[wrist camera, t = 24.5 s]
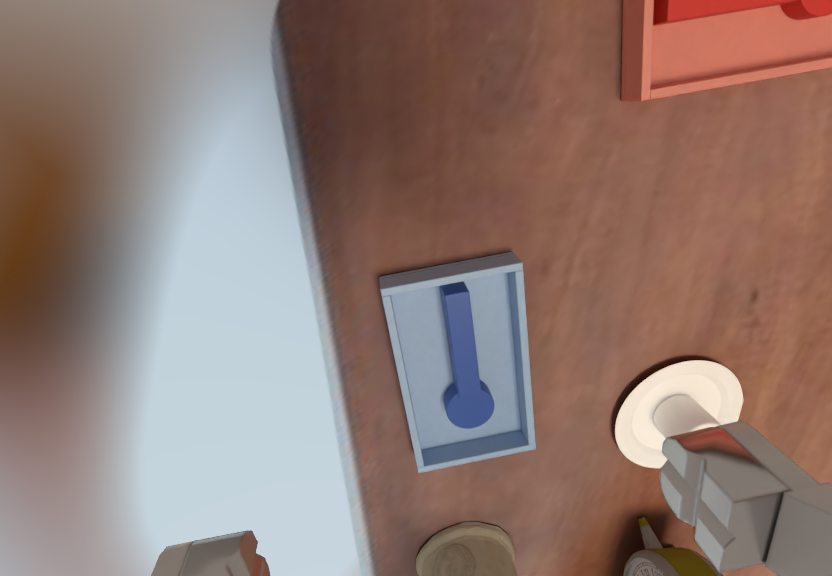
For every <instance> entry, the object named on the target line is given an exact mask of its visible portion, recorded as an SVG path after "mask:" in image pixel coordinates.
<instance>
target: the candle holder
mask: <svg viewBox="0 0 832 576" xmlns="http://www.w3.org/2000/svg"><path fill="white" fill-rule="evenodd" d="M742 404H743V394H742V389H741V386H740V383H739V381H738V379H737V378H736V376H735V375H734V374H733V373H732V372H731V371H730V370H729V369H727V368H726V367H724V366H722V365H720V364H718V363H715V362H711V361H704V360H692V361H684V362H680V363H676V364H673V365H670V366H667V367H665V368H663V369H661V370H659V371H657V372H655V373H653V374H652V375H650V376H649V377H647V378H646V379H645V380H643V381H642V382H641V383H640V384H639V385H638V386H637V387H636V388H635V389H634V390H633V391H632V392H631V393H630V394H629V396H628V397H627V398H626V400H625V401H624V403H623V405H622V406H621V408H620V410H619V413H618V416H617V419H616V424H615V438H616V442H617V445H618V447H619V449H620V450H621V452H622V453H623V454H624V455H625V456H626V457H627V458H628V459H629V460H631V461H632V462H634V463H636V464H638V465H641V466H644V467H649V468H661V467H662V466H663V465H664V464H665V462H666V461H667V460H668V459H667V458H666V457H665V456H664V454H663V453H662V446H663V442H664V440H665V439H666V438H667V437H670V436H675V435H679V434H683V433H687V432H692V431H696V430H700V429H704V428H709V427H716V426H719V425H724V424H728V423H733V422H737V421H738V419H739V415H740V411H741V408H742Z"/></svg>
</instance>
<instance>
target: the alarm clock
mask: <svg viewBox="0 0 832 576" xmlns="http://www.w3.org/2000/svg"><path fill="white" fill-rule="evenodd" d="M638 520H639V525H640V529H641V533H642V538H643V542H644V546H645V549H643V550H640V551H637V552H635V553H634V554H633V555H632V556H631V557H630V558H629V560H628V561H627V563H626V565H625V568H624V573H623V576H723V575H722V574H721V573H719V572H718V571H717V569H716V568H715V567H714V565H713V564H712V563H711V562H709V561H708V560H707V559H706V558H705V557H703V556H702V555H700V554H698V553H697V552H695V551H692V550H690V549H685V548H675V547H673V546H671V547H670V548H663V547H662V545H661V544H660V542H659V540H658V539H657V537H656V535H655V534H654V532H653V530H652V529H651V527H650V525H649V523H648V522H647V520H646V519H645V518H639V519H638Z"/></svg>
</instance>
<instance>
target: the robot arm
mask: <svg viewBox="0 0 832 576" xmlns="http://www.w3.org/2000/svg"><path fill="white" fill-rule="evenodd" d="M662 453H663V454H664V456H665V457H666V458H667V459H668V460H667V461H666V462H665V464H664V465H663V466H662V467H661V469H660V485H661V489H662V492H663V496H664V498H665V499H666V501H667V503H668V505H669V507H670V508H671V510H672V511H673V512H674V514H675V515H676V517H677V518H678V519H680V520H681V521H683V522H685V523H687V524H689V525H691V526H692V527H694V541H695V542H696V543H697V544H698V546H699V547H700V548H701V550H702V551H703V552H704V554H705V555H706V556H707V558H708V559H709V560H710V562H711V563H712V564H713V565H714V567H715V568H716V569H717V571H718V572H719V573H722V572H727V571H731V570H736V569H741V568H746V567H751V566H756V565H761V564H765V563H766V564H765V567H767V568H768V569H770V570H771V571H773V572H774V573H776V574H777V575H779V576H832V484H830V483H823V484H819V483H818V482H817V481H816V480H815V479H813V478H812V477H811V476H810V475H809V474H808V473H806V472H805V471H804V470H803V469H802V468H800V467H799V466H798V465H797V464H796V463H795V462H793V461H792V460H791V459H790V458H789V457H787V456H786V455H785V454H784V453H783V452H782V451H780V450H779V449H778V448H777V447H776V446H774V445H773V444H772V443H771V442H770V441H769V440H767V439H766V438H765V437H764V436H763V435H761V434H760V433H759V432H758V431H757V430H756V429H754V428H753V427H752V426H751V425H749V424H748V423H745V422H743V421H737V422H733V423H728V424H724V425H719V426H716V427H709V428H704V429H700V430H696V431H692V432H687V433H683V434H679V435H675V436H670V437H667V438H666V439H665V440H664V442H663V446H662ZM257 543H258V542H257V540H256V538H255V536H254V534H253V532H252V531H243V532H238V533H233V534H227V535H222V536H217V537H212V538H207V539H202V540H196V541H192V542H188V543H183V544H178V545H173V546H168V547H166V549H165V550H164V551H163V552H162V553H161V554H160V556H159V558H158V560H157V563H156V565H155V568H154V570H153V573H152V575H151V576H270V572H269V567H268V564H267V562H266V560H265V558H264V557H262V556H260V555H258V554H256V548H257Z"/></svg>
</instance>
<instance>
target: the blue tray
mask: <svg viewBox="0 0 832 576" xmlns="http://www.w3.org/2000/svg"><path fill="white" fill-rule="evenodd" d="M379 281H380V291H381V296H382V300H383V305H384V310H385V315H386V320H387V324H388V329H389V334H390V339H391V344H392V348H393V353H394V358H395V363H396V368H397V372H398V377H399V382H400V387H401V392H402V396H403V401H404V406H405V411H406V416H407V420H408V425H409V430H410V435H411V440H412V444H413V449H414V454H415V459H416V464H417V468H418V472H419V473H421V472H426V471H431V470H436V469H441V468H446V467H451V466H455V465H460V464H465V463H470V462H475V461H480V460H485V459H490V458H494V457H499V456H504V455H509V454H514V453H519V452H524V451H529V450H533V449H536V446H535V431H534V417H533V403H532V389H531V375H530V361H529V347H528V333H527V319H526V304H525V290H524V276H523V263H522V262H521V261H520V260H519V259H518V258H517V256H516V255H515V254H514V253H513V252H508V253H503V254H497V255H492V256H487V257H481V258H476V259H471V260H465V261H460V262H455V263H450V264H444V265H439V266H434V267H428V268H423V269H418V270H412V271H407V272H402V273H397V274H391V275H386V276H381V277H379ZM462 281H464V283H465V285H466V287H467V289H468V290H469V294H470V302H471V311H472V319H473V327H474V336H475V344H476V352H477V361H478V369H479V377H480V380H481V381H482V382H484V383H485V384H486V385H487V386H488V388H489V390H490V393H491V395H492V397H493V400H494V404H495V407H494V412H493V414H492V416H491V418H490V419H489V420H488V421H487V422H486V423H484V424H483V425H481V426H479V427H476V428H471V429H465V428H460V427H457V426H455V425H454V424H453V423H451V422H450V420H449V419H448V417H447V414H446V410H445V406H444V401H443V400H444V394H445V392H446V390H447V389H448V387H449V386H450V385H451V384H453V383H454V380H453V373H452V366H451V360H450V353H449V346H448V339H447V332H446V326H445V319H444V312H443V305H442V298H441V292H440V286H441V285H446V284H451V283H457V282H462Z"/></svg>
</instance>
